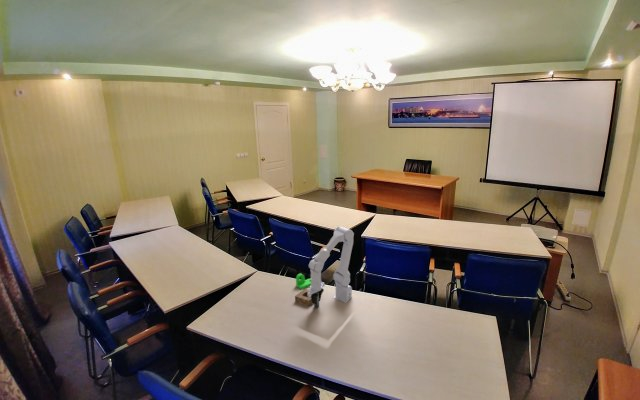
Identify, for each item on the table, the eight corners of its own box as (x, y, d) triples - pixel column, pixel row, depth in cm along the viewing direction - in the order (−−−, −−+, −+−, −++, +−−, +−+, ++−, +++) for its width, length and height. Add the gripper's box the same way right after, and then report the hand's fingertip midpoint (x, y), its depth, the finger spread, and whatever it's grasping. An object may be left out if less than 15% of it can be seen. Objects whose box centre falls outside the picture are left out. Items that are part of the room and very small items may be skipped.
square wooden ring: (318, 298, 173) (318, 293, 172) (308, 306, 165) (308, 300, 164) (305, 293, 178) (304, 288, 177) (295, 301, 170) (295, 296, 169)
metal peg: (320, 306, 165) (319, 292, 163) (317, 308, 162) (317, 294, 160) (315, 304, 166) (315, 290, 164) (312, 307, 164) (312, 293, 162)
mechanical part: (300, 289, 183) (300, 278, 182) (296, 285, 188) (295, 274, 187) (316, 284, 190) (316, 273, 188) (311, 280, 195) (311, 269, 193)
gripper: (317, 273, 169) (317, 294, 172) (302, 284, 157) (303, 306, 160) (327, 276, 165) (327, 297, 168) (313, 287, 153) (313, 310, 156)
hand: (316, 302), depth 164 cm, fingers closed on metal peg, 3 cm apart
